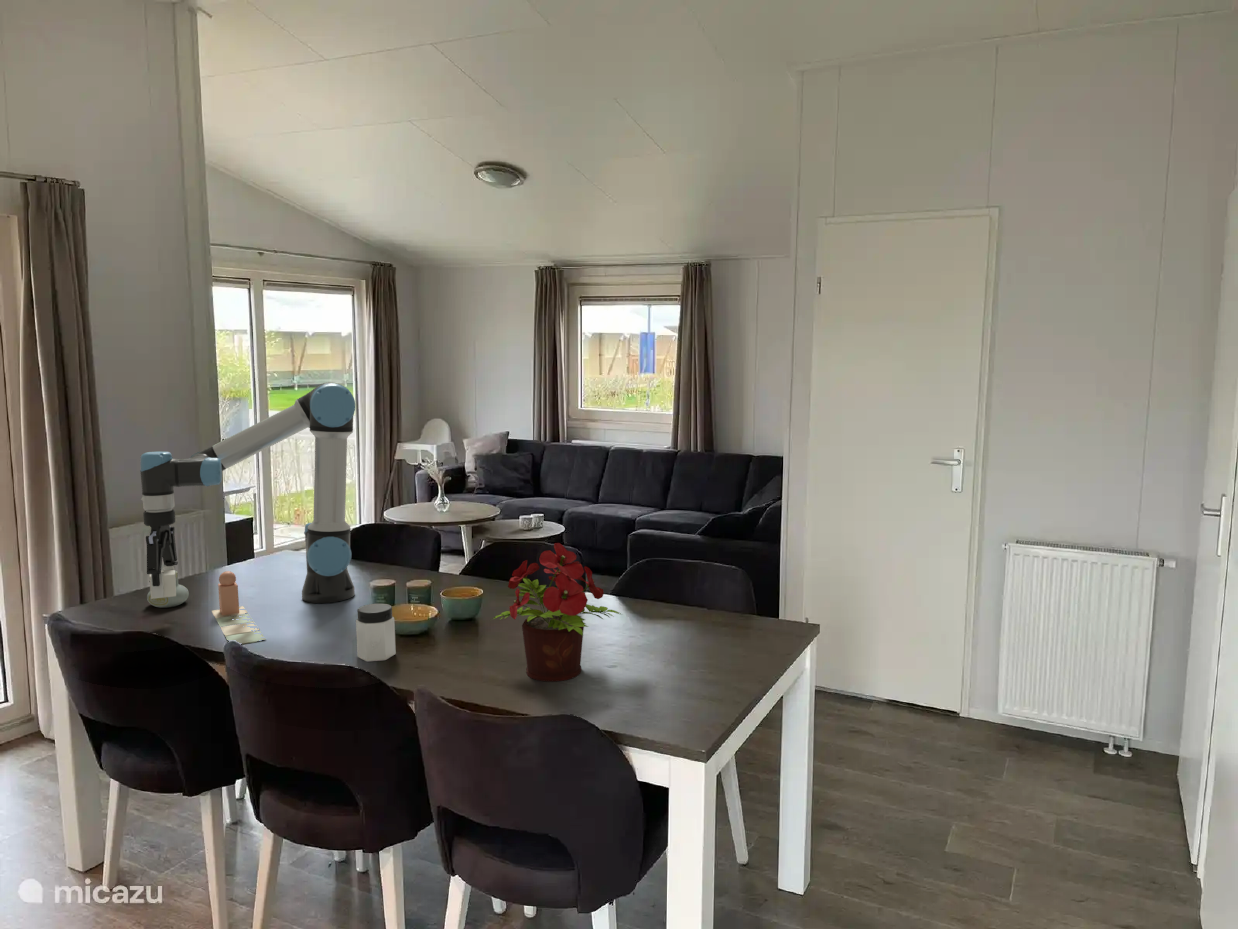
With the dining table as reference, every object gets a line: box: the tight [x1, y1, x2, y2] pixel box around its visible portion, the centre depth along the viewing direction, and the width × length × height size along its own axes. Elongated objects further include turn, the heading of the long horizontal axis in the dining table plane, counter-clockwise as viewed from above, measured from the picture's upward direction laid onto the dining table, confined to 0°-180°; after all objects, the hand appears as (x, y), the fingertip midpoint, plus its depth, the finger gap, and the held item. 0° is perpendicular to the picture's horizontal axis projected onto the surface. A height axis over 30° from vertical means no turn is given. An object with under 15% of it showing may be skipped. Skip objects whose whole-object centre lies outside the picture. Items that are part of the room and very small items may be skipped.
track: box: [211, 605, 267, 645], centre depth 241 cm, size 8×36×1 cm, turn 31°
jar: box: [355, 603, 397, 663], centre depth 216 cm, size 9×8×12 cm
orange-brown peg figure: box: [217, 570, 240, 615], centre depth 252 cm, size 4×4×12 cm
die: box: [148, 568, 176, 599], centre depth 240 cm, size 6×6×6 cm
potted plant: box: [491, 542, 622, 682], centre depth 205 cm, size 30×27×30 cm
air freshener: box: [146, 570, 190, 609], centre depth 260 cm, size 11×8×10 cm
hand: (164, 593), depth 240 cm, fingers closed on die, 7 cm apart
